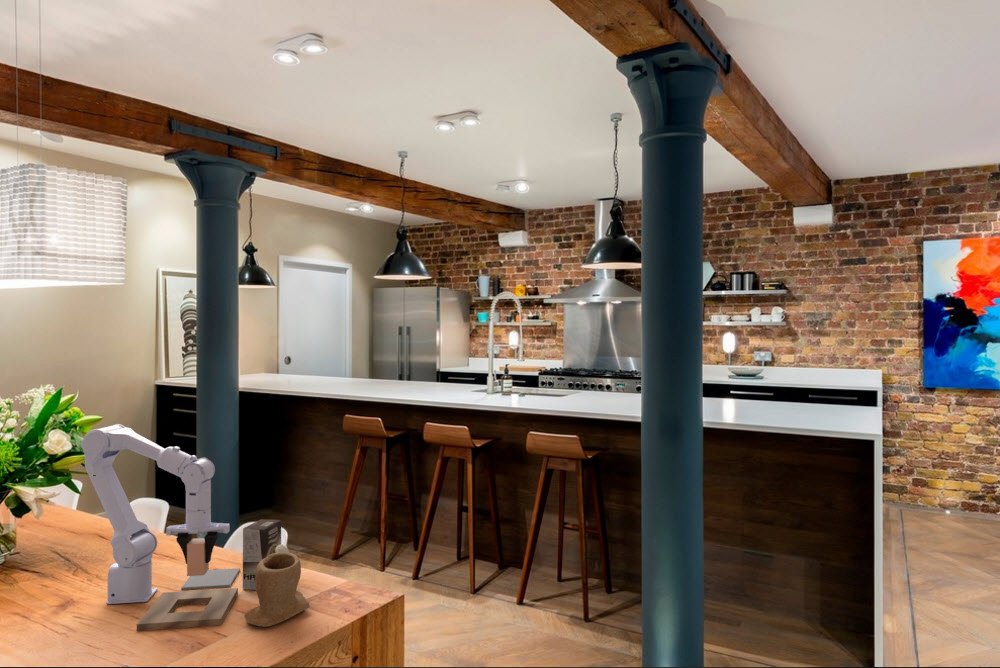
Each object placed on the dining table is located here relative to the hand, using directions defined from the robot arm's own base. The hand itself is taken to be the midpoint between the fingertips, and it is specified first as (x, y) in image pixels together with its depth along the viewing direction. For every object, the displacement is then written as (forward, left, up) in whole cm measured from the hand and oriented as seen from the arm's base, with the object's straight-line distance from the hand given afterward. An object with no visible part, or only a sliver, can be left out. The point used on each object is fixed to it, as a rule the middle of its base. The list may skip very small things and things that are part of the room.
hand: (198, 562), depth 168 cm
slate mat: (0, +13, -9) cm, 16 cm away
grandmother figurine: (+20, 0, -10) cm, 22 cm away
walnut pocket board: (0, -7, -9) cm, 12 cm away
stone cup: (+22, -14, -10) cm, 28 cm away
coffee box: (+14, +8, -10) cm, 19 cm away
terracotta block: (0, 0, -3) cm, 3 cm away
